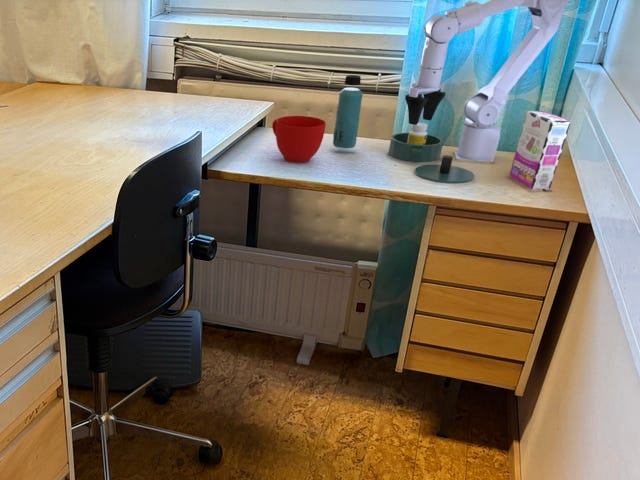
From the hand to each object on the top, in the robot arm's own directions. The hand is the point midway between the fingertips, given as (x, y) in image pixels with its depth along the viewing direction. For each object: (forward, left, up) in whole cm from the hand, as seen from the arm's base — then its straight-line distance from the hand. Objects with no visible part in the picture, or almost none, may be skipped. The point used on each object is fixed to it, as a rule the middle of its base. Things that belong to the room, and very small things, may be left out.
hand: (420, 121), depth 188 cm
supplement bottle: (0, 0, -9) cm, 9 cm away
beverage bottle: (+19, -1, -10) cm, 21 cm away
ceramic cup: (+32, +10, -10) cm, 35 cm away
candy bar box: (-27, +16, -10) cm, 33 cm away
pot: (0, 0, -10) cm, 10 cm away
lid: (-7, +16, -9) cm, 20 cm away
